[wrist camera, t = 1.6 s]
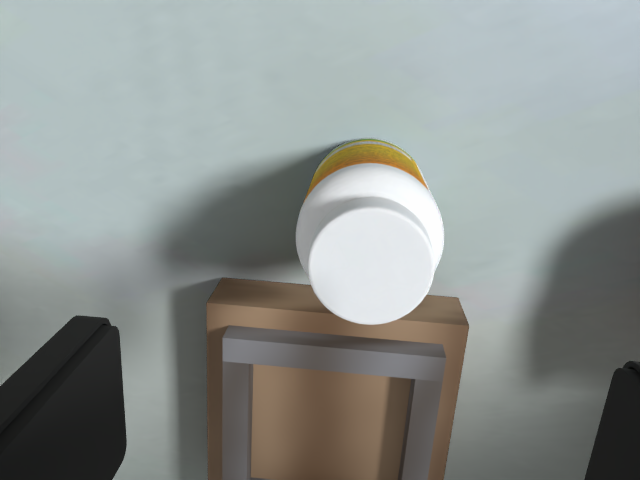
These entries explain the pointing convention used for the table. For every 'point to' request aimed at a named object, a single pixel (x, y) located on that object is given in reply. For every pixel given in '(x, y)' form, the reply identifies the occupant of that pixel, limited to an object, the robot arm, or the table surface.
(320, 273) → the supplement bottle
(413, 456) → the stand
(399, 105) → the table surface
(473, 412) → the table surface
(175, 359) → the table surface
